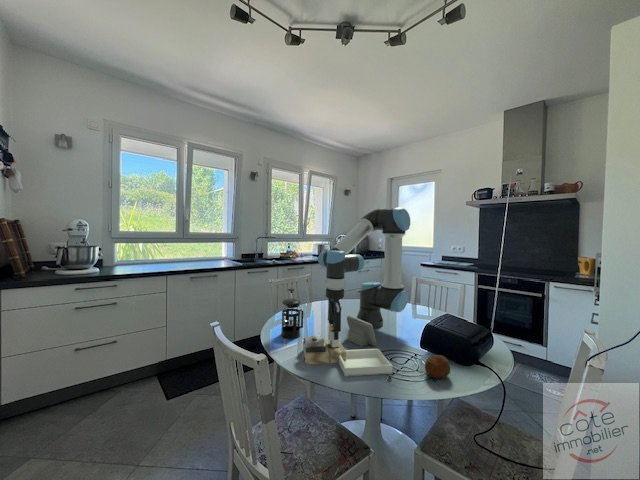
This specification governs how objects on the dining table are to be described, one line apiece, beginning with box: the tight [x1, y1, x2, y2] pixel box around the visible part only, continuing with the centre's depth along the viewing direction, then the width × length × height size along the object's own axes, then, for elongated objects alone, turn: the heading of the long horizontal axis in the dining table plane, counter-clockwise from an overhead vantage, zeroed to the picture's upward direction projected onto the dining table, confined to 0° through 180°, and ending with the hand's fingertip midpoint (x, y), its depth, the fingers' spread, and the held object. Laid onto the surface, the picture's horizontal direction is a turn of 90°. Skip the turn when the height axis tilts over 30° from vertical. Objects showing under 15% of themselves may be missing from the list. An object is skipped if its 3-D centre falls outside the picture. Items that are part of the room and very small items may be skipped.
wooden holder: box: [302, 335, 346, 365], centre depth 109 cm, size 16×12×8 cm
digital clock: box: [346, 315, 377, 347], centre depth 125 cm, size 16×9×11 cm, turn 25°
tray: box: [338, 348, 394, 378], centre depth 103 cm, size 18×14×3 cm
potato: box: [424, 354, 451, 379], centre depth 97 cm, size 8×11×8 cm
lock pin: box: [330, 326, 337, 349], centre depth 110 cm, size 3×3×12 cm
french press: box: [280, 288, 304, 340], centre depth 130 cm, size 12×9×23 cm
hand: (333, 342), depth 110 cm, fingers open, 6 cm apart
